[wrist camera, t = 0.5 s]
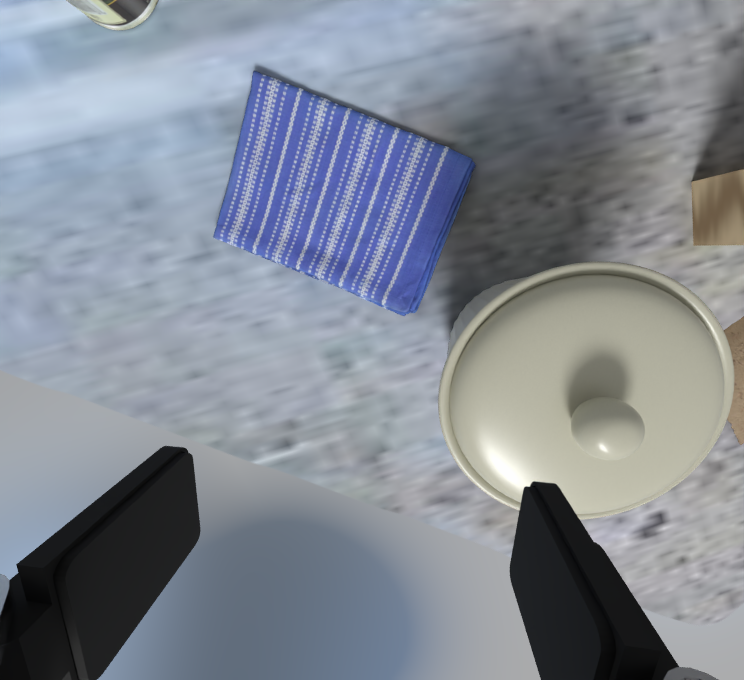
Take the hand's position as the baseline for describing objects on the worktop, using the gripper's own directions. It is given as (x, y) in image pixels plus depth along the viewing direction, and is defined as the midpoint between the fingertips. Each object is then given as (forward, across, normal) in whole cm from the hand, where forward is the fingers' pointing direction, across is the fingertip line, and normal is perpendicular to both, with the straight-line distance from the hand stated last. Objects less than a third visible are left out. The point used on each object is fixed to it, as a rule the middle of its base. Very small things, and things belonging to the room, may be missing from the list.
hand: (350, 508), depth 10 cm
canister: (+31, -13, +2) cm, 33 cm away
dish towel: (+31, +6, -11) cm, 34 cm away
